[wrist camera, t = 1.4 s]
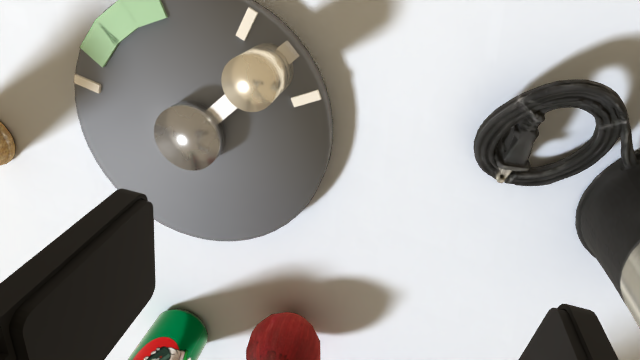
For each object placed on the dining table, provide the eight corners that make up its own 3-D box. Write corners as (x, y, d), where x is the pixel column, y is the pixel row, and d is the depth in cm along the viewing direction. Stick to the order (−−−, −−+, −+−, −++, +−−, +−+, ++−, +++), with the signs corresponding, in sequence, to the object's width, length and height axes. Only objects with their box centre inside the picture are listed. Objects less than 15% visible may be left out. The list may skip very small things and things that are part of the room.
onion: (250, 313, 38) (213, 392, 31) (290, 280, 35) (259, 359, 28) (299, 351, 39) (274, 437, 32) (341, 322, 36) (324, 408, 29)
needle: (196, 174, 30) (170, 199, 27) (150, 125, 29) (118, 145, 26) (317, 78, 25) (303, 95, 22) (268, 15, 24) (246, 24, 21)
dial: (360, 17, 25) (356, 21, 24) (308, 255, 34) (303, 269, 32) (78, -46, 27) (58, -46, 25) (98, 197, 35) (84, 208, 34)
